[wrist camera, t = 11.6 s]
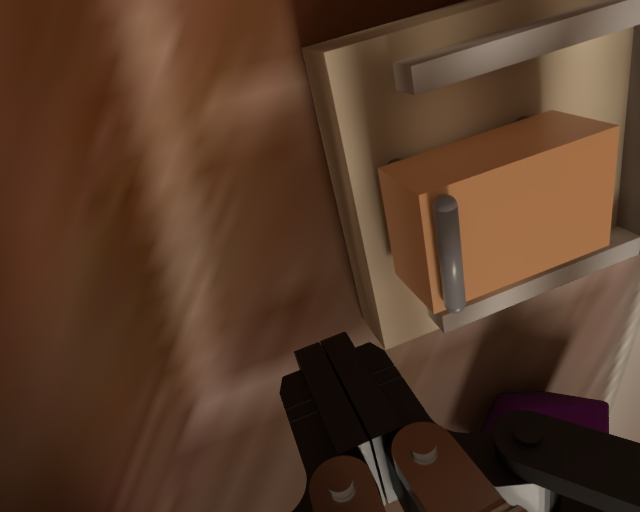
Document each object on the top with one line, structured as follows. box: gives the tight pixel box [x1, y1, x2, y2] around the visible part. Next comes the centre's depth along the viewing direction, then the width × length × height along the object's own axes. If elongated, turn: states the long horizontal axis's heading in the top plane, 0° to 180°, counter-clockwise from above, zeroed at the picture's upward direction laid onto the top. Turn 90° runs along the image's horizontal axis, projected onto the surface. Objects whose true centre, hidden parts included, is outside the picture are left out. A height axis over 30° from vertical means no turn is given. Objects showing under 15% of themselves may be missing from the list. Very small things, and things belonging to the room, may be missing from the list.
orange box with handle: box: [377, 110, 620, 314], centre depth 19 cm, size 8×5×5 cm, turn 102°
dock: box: [301, 0, 640, 350], centre depth 22 cm, size 15×14×6 cm
